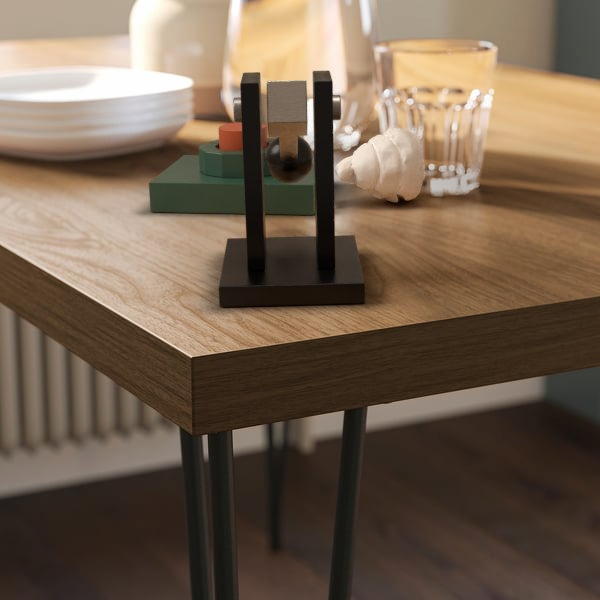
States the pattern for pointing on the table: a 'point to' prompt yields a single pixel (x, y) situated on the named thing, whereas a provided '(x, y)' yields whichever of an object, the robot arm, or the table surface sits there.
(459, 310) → the table surface
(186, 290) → the table surface
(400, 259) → the table surface
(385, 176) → the spiral seashell
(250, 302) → the bracket
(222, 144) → the button
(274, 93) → the lever
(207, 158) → the button block
